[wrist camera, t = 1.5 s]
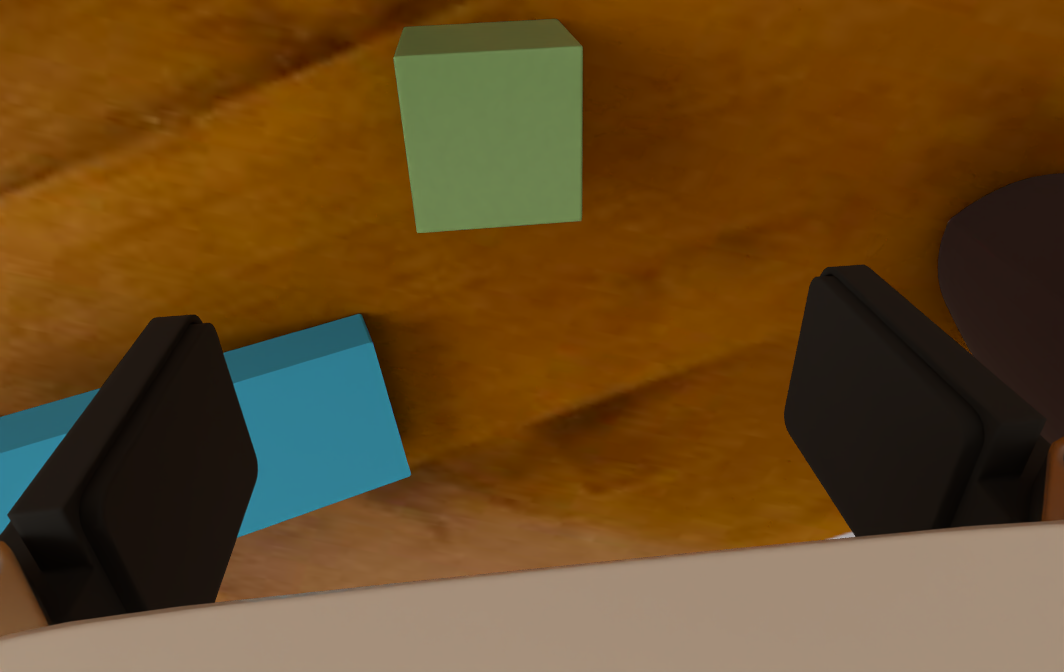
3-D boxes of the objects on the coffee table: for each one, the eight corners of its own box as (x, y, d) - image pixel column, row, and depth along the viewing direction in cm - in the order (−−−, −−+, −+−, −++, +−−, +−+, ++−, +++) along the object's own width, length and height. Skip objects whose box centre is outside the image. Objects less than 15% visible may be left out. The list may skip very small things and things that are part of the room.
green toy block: (403, 26, 22) (392, 56, 18) (557, 18, 22) (583, 45, 18) (421, 177, 25) (416, 233, 21) (559, 167, 25) (582, 221, 21)
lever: (343, 267, 31) (-120, 392, 26) (372, 341, 25) (-209, 515, 21) (379, 388, 35) (-22, 515, 30) (411, 475, 29) (-75, 648, 25)
